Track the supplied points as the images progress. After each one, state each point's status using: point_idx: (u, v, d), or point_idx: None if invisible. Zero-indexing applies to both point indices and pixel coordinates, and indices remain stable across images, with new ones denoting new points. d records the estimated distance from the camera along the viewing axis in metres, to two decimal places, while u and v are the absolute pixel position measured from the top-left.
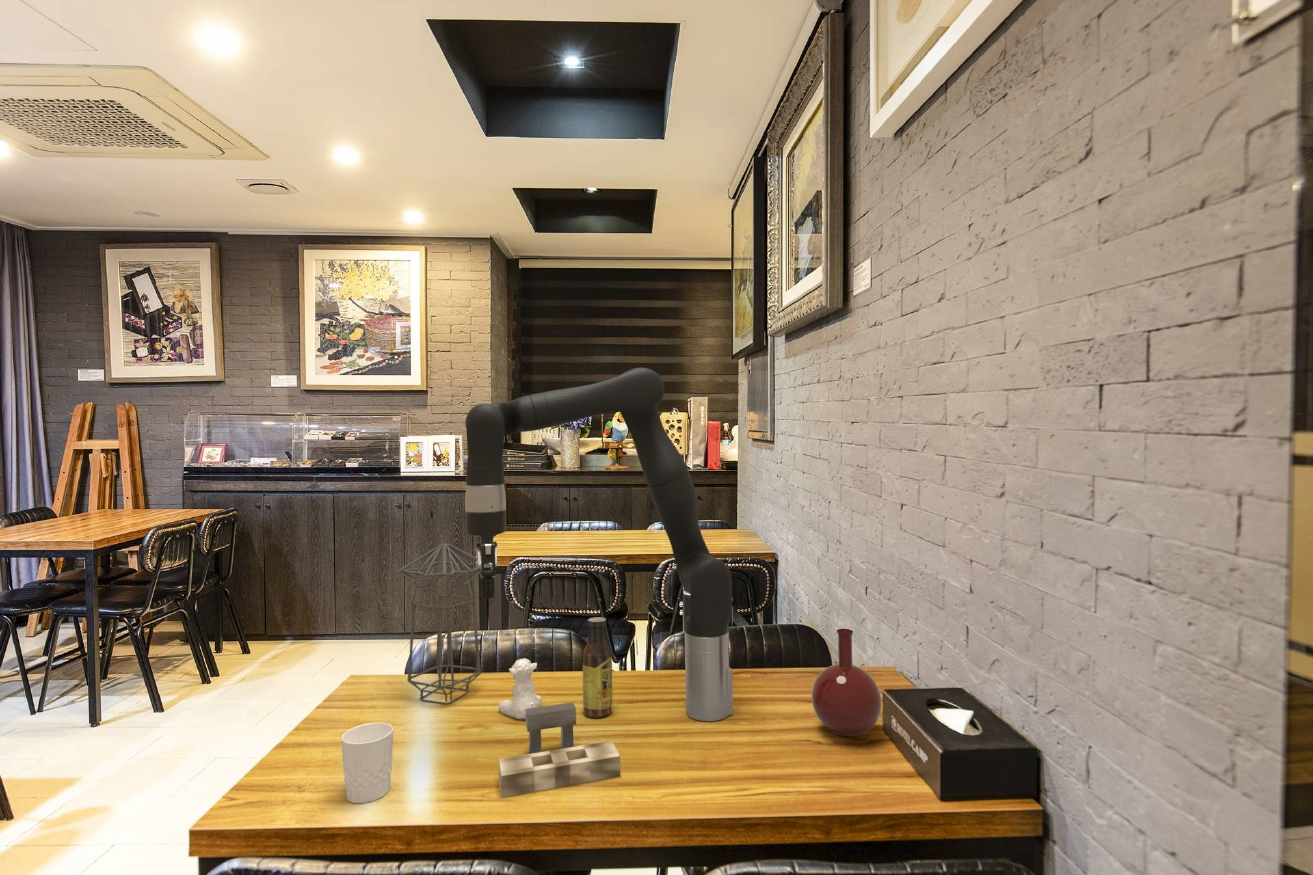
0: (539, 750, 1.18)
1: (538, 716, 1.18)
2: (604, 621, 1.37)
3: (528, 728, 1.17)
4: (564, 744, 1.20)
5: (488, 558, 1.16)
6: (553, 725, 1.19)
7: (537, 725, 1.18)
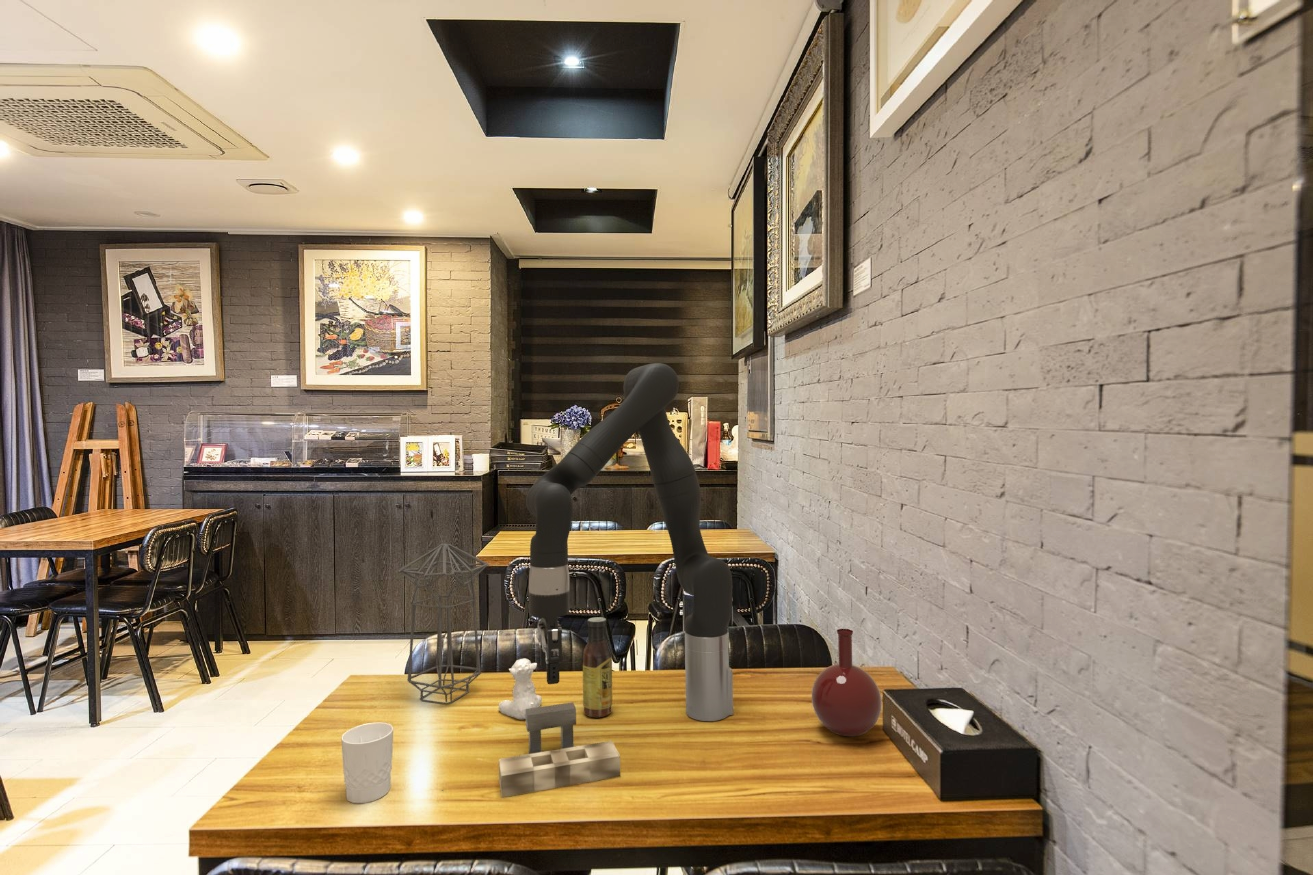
0: (539, 750, 1.18)
1: (538, 716, 1.18)
2: (604, 621, 1.37)
3: (528, 728, 1.17)
4: (564, 744, 1.20)
5: (555, 644, 1.14)
6: (553, 725, 1.19)
7: (537, 725, 1.18)
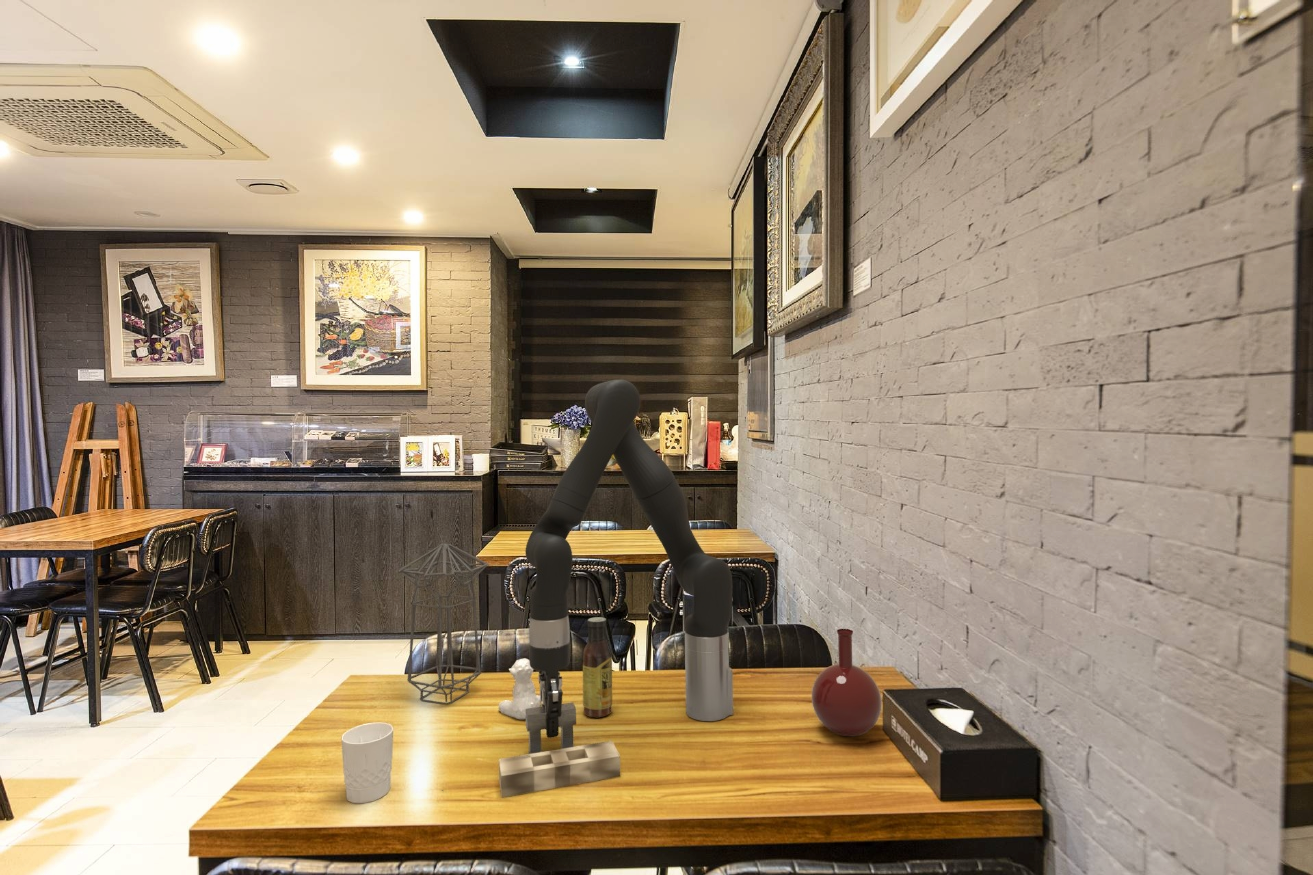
0: (539, 750, 1.18)
1: (538, 716, 1.18)
2: (604, 621, 1.37)
3: (528, 728, 1.17)
4: (564, 744, 1.20)
5: (555, 704, 1.15)
6: None
7: (537, 725, 1.18)
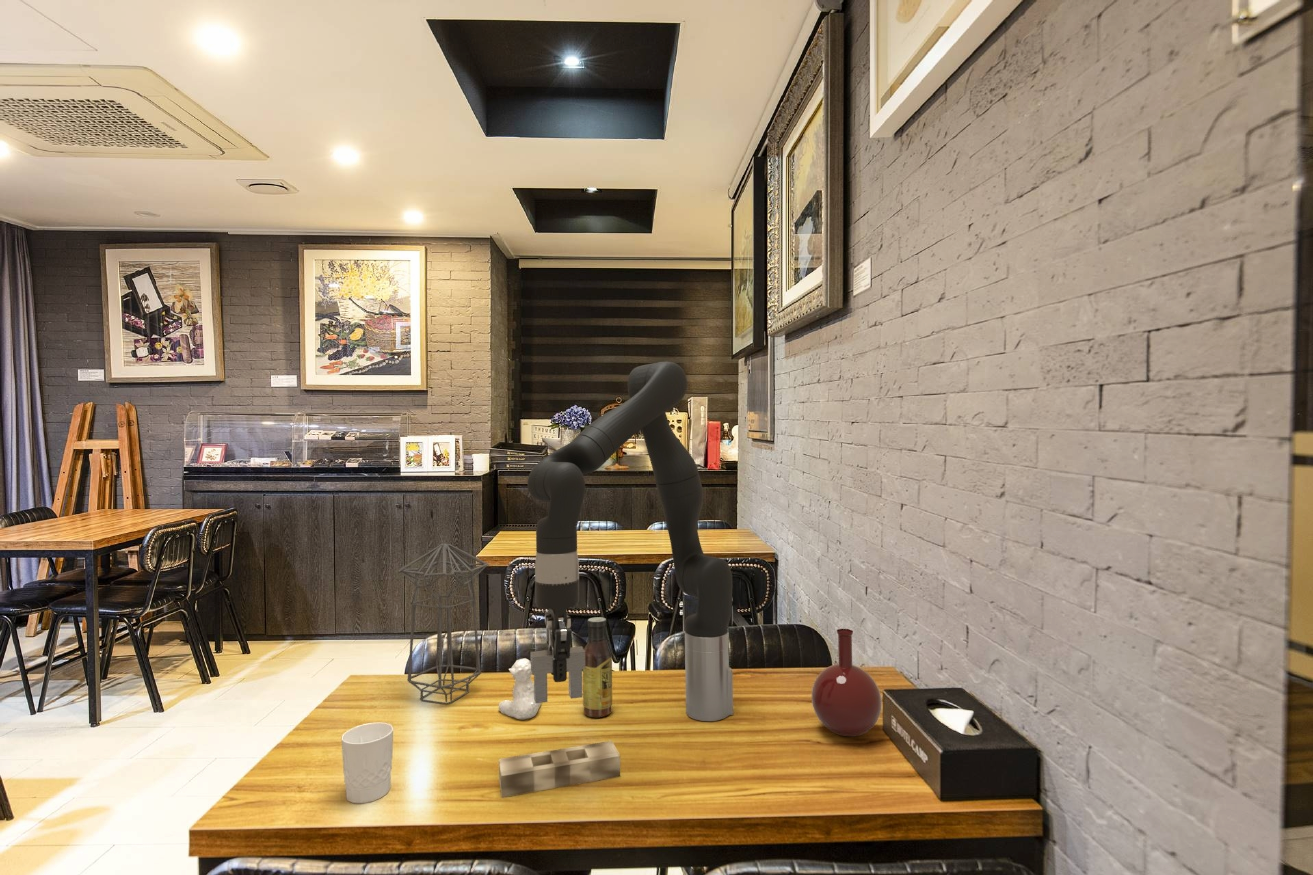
0: (545, 696, 1.09)
1: (544, 659, 1.08)
2: (604, 621, 1.37)
3: (533, 671, 1.08)
4: (572, 690, 1.10)
5: (563, 644, 1.05)
6: None
7: (543, 668, 1.08)
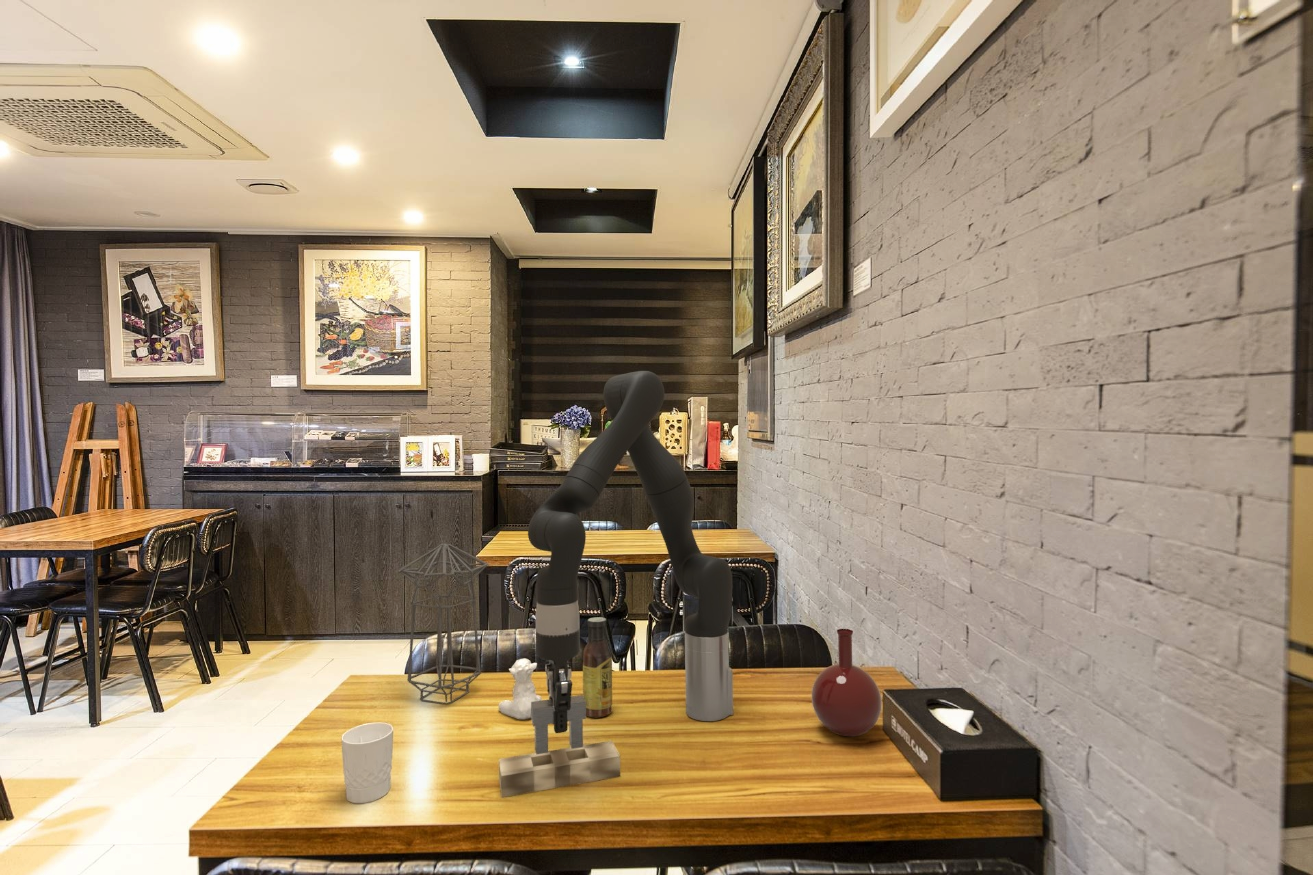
0: (546, 746, 1.09)
1: (544, 710, 1.08)
2: (604, 621, 1.37)
3: (534, 722, 1.08)
4: (573, 740, 1.10)
5: (564, 696, 1.05)
6: None
7: (544, 719, 1.08)
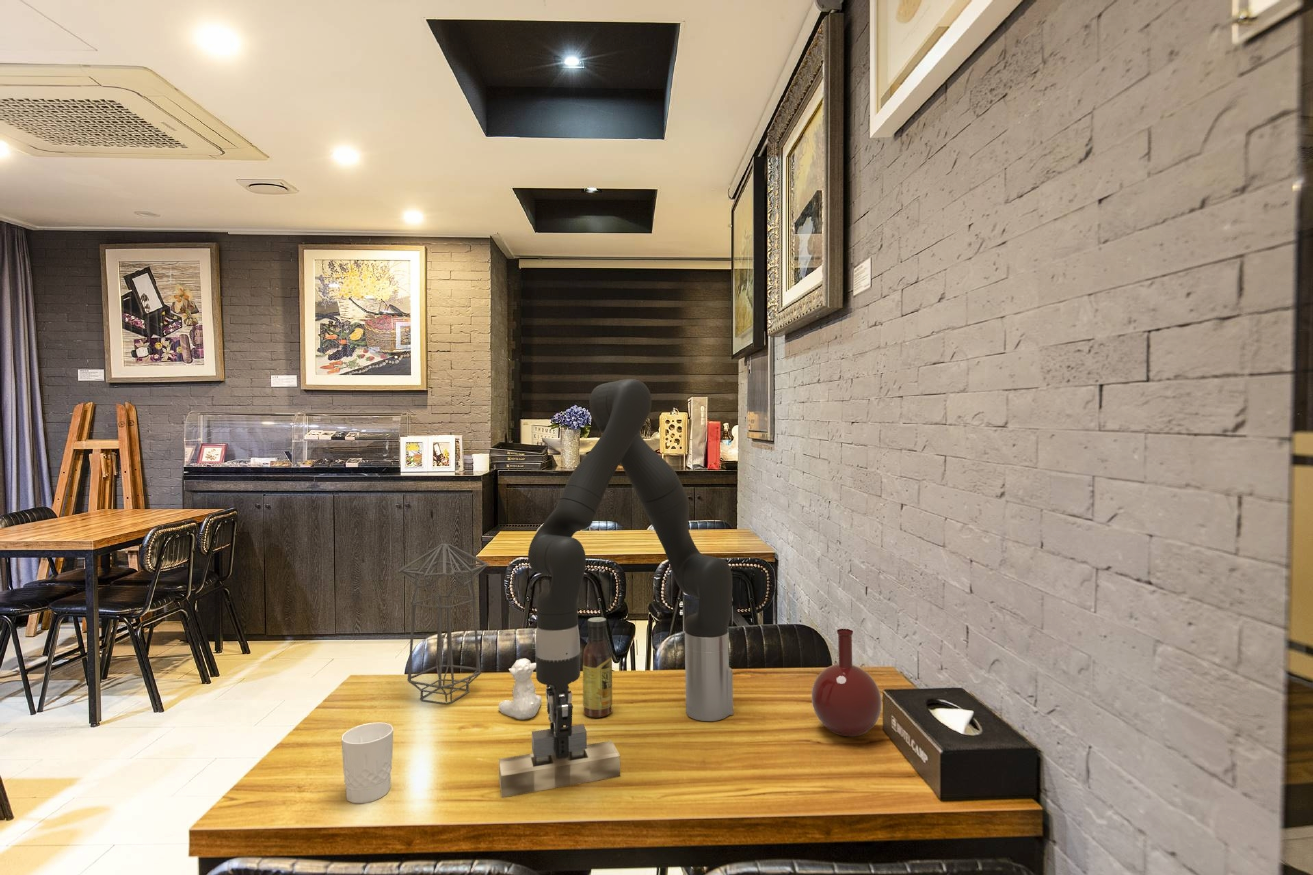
0: None
1: (545, 740, 1.08)
2: (604, 621, 1.37)
3: (534, 753, 1.08)
4: None
5: (565, 720, 1.05)
6: None
7: (544, 750, 1.08)
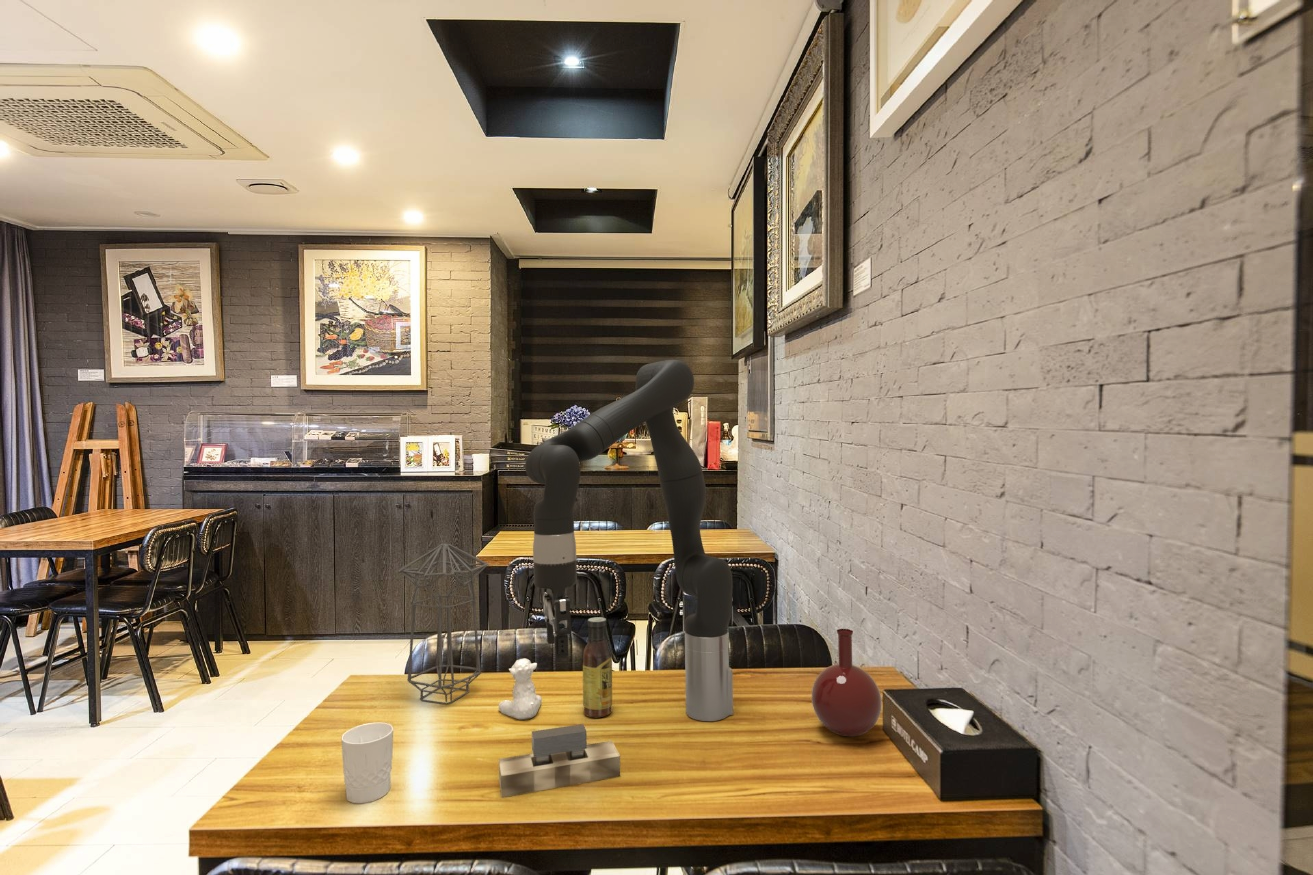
0: None
1: (545, 740, 1.08)
2: (604, 621, 1.37)
3: (534, 753, 1.08)
4: None
5: (563, 615, 1.06)
6: (562, 749, 1.09)
7: (544, 749, 1.08)
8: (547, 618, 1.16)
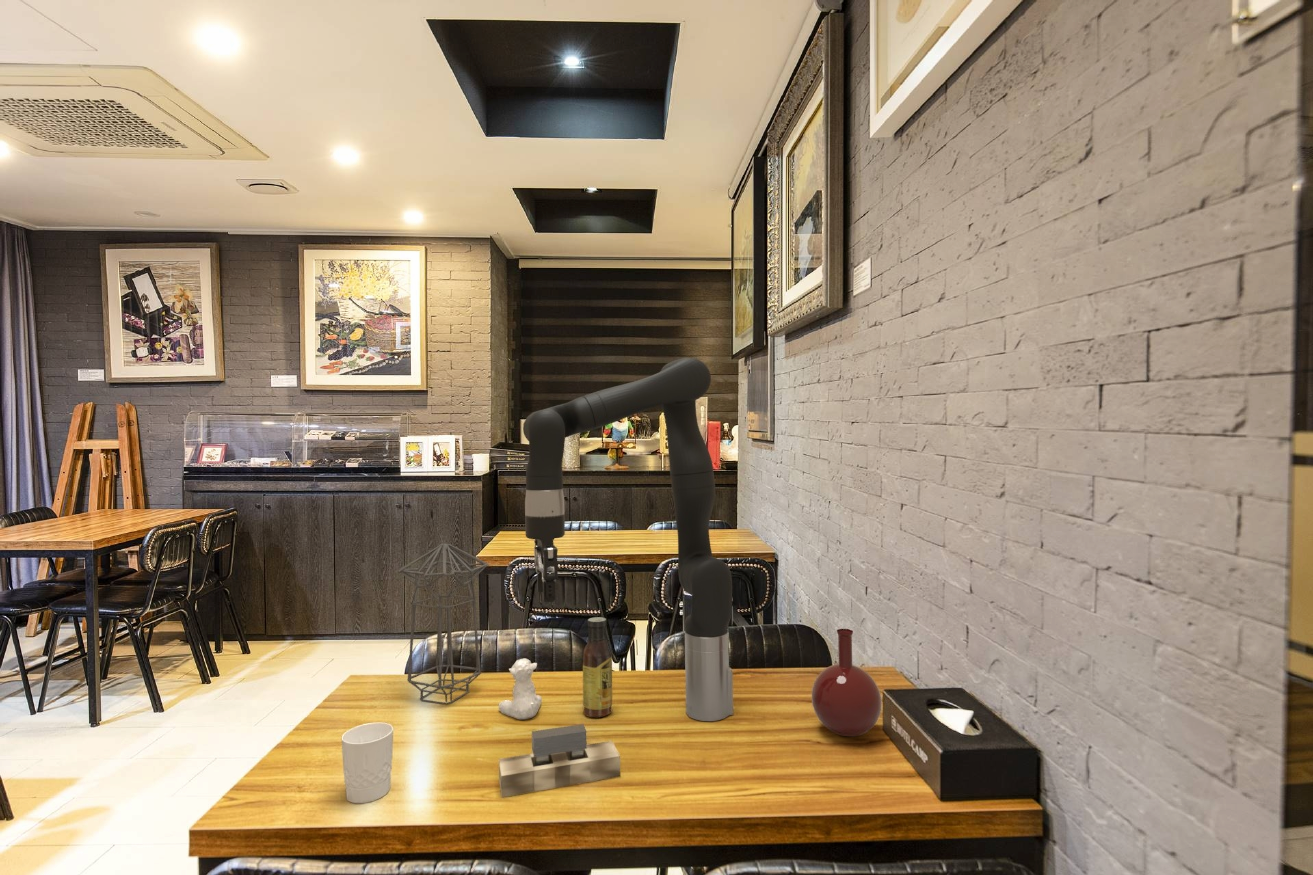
0: None
1: (545, 740, 1.08)
2: (604, 621, 1.37)
3: (534, 753, 1.08)
4: None
5: (551, 562, 1.17)
6: (561, 749, 1.09)
7: (544, 749, 1.08)
8: (538, 569, 1.27)
